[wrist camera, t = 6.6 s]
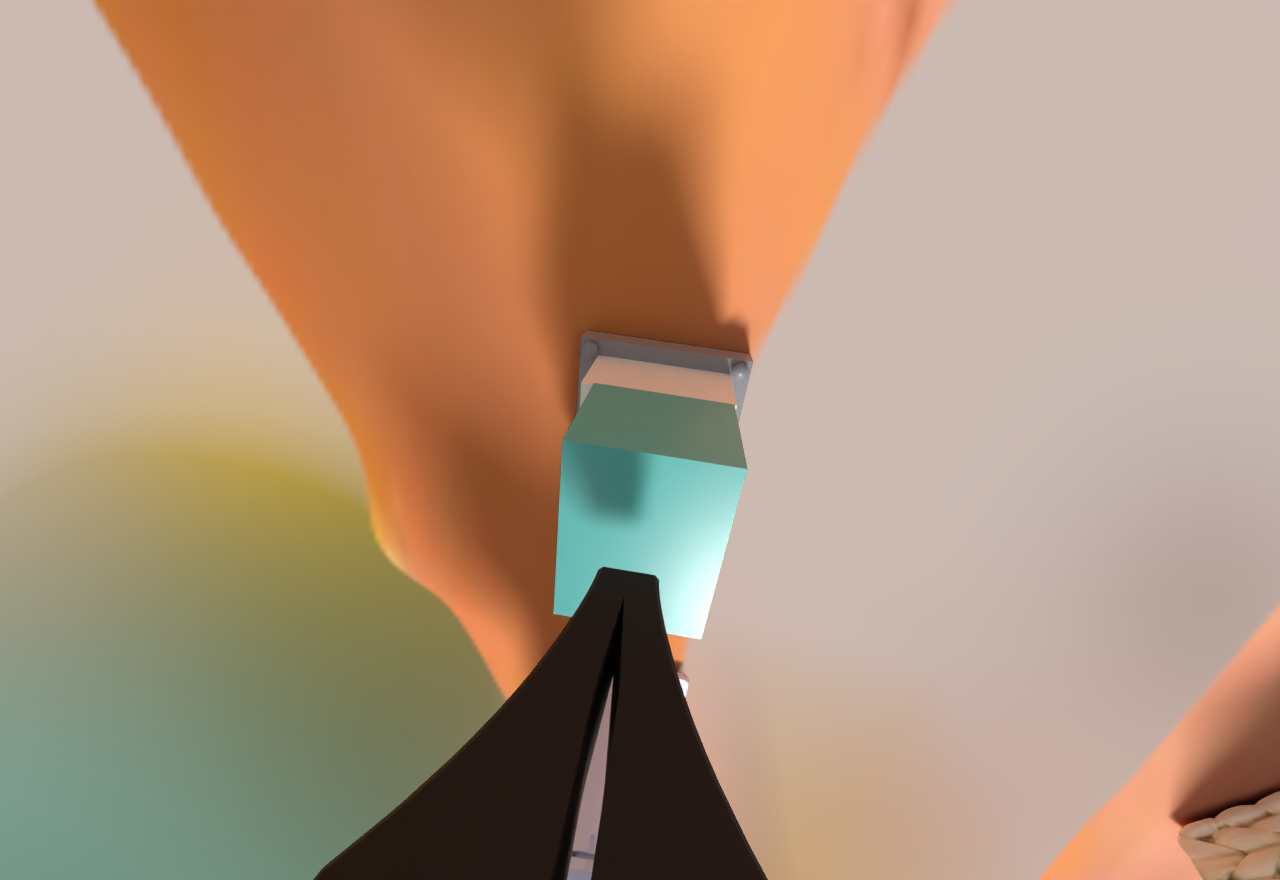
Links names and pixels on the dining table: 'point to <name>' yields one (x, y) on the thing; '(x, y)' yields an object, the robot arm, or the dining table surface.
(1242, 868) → the storage basket
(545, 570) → the dining table surface
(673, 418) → the teal brick
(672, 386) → the cream brick
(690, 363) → the baseplate
